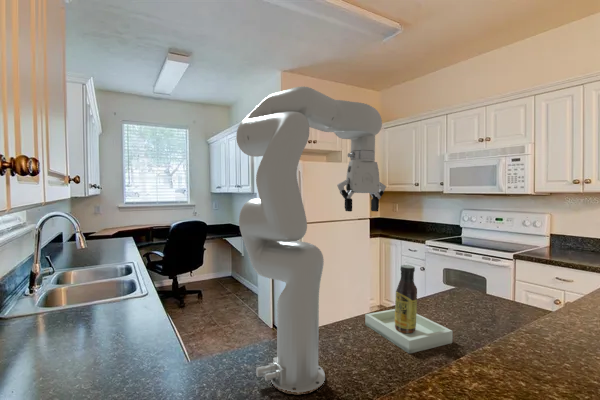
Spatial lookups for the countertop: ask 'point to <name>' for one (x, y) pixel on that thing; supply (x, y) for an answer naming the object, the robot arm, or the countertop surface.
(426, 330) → the tray
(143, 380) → the countertop surface
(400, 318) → the sauce bottle
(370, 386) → the countertop surface
